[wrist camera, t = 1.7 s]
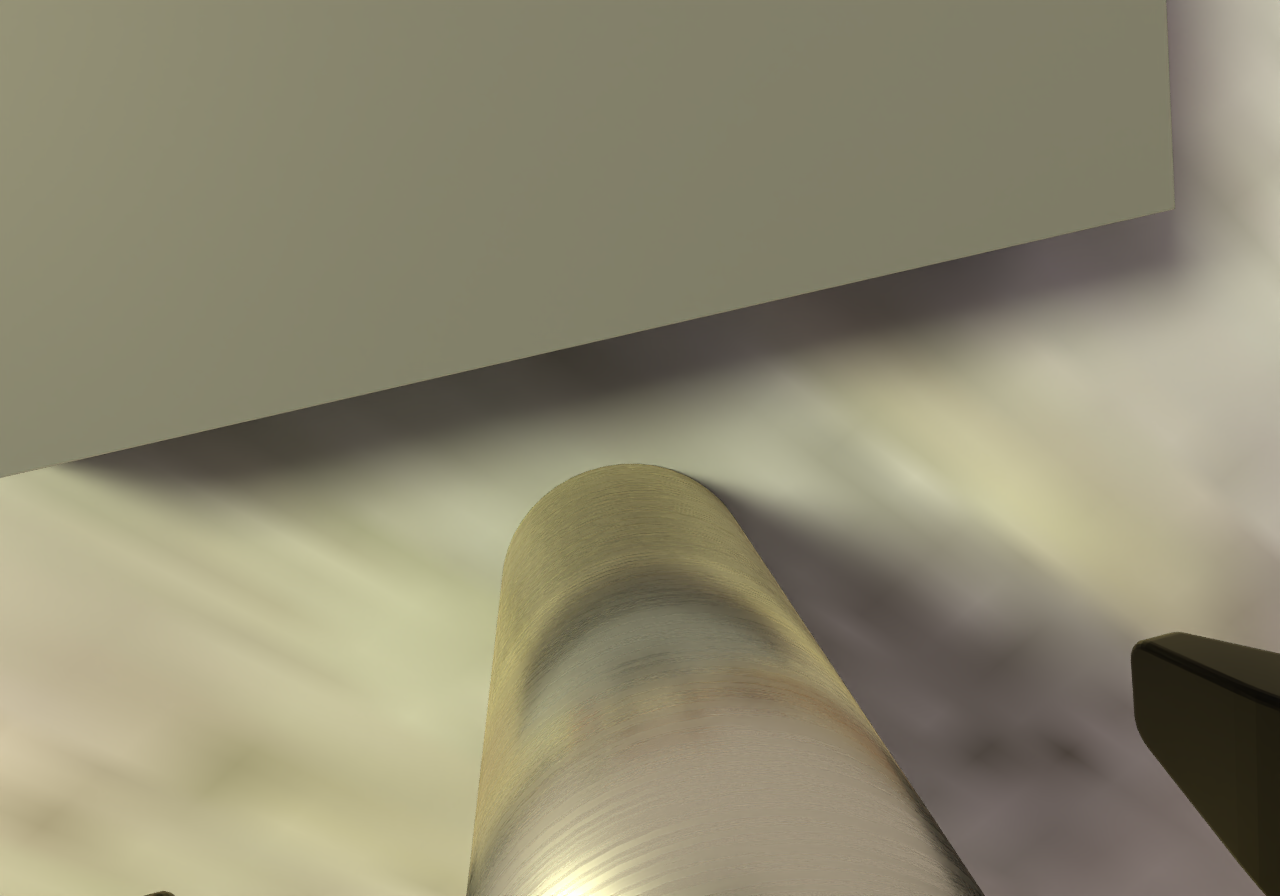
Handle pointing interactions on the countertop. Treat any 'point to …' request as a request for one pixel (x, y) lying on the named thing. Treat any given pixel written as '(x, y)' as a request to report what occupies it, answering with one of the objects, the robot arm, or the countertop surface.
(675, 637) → the peg
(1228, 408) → the countertop surface
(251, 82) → the socket board
